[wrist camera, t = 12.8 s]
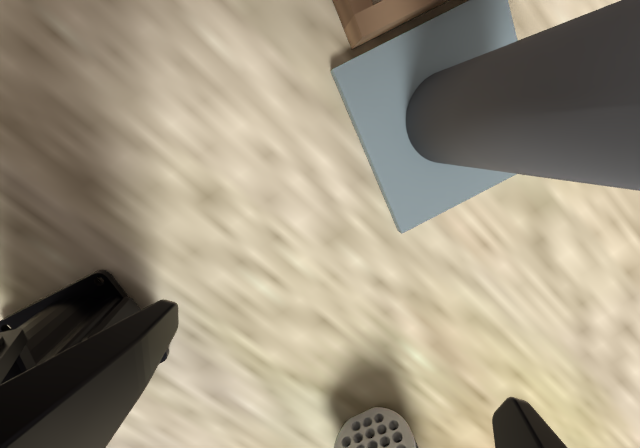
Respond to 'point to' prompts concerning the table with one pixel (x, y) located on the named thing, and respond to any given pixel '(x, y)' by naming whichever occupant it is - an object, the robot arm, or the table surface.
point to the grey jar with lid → (542, 104)
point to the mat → (393, 98)
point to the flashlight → (376, 431)
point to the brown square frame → (378, 16)
